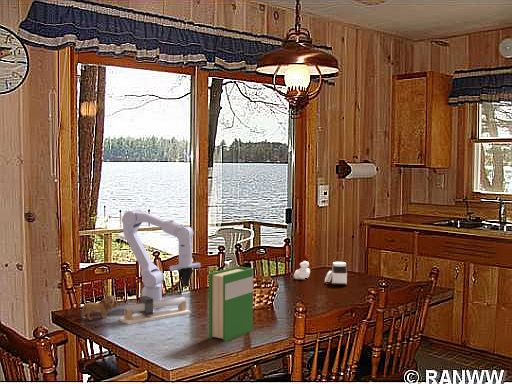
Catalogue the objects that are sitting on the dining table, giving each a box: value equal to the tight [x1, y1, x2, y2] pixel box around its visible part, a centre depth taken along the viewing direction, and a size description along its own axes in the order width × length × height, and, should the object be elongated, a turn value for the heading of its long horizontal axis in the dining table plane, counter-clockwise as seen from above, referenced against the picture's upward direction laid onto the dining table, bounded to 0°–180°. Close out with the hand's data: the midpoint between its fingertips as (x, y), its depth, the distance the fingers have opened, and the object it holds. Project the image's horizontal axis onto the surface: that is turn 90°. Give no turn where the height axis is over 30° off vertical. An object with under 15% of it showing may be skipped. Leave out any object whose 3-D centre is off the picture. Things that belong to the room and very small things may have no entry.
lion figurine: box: [78, 294, 116, 321], centre depth 249 cm, size 15×5×9 cm, turn 118°
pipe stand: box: [119, 296, 192, 325], centre depth 251 cm, size 8×29×6 cm, turn 128°
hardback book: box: [208, 266, 254, 342], centre depth 227 cm, size 18×7×24 cm, turn 146°
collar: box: [138, 295, 154, 316], centre depth 249 cm, size 6×3×7 cm, turn 38°
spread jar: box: [324, 261, 348, 286], centre depth 319 cm, size 12×11×12 cm
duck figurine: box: [293, 260, 311, 280], centre depth 333 cm, size 12×8×11 cm
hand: (185, 285), depth 264 cm, fingers closed
